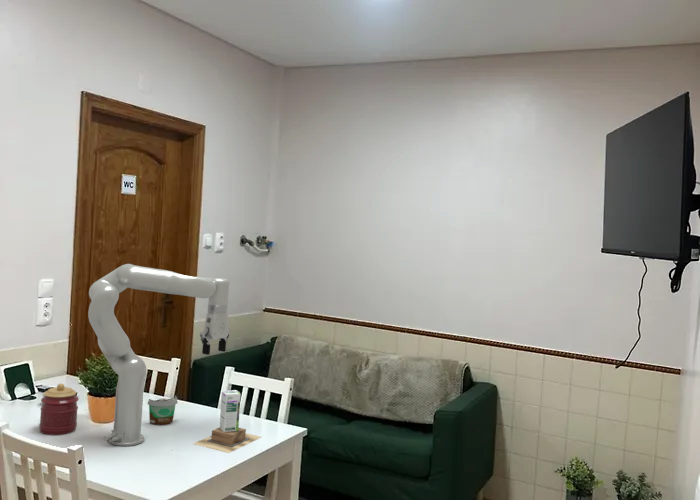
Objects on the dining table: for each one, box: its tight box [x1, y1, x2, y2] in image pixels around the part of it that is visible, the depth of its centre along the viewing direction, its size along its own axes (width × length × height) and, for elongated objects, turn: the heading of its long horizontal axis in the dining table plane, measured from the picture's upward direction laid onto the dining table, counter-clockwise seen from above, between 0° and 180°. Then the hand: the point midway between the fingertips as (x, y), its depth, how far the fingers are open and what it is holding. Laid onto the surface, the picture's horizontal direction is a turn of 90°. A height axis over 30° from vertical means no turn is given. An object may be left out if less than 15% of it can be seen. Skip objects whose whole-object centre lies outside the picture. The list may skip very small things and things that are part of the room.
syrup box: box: [219, 389, 242, 432], centre depth 242 cm, size 6×6×14 cm
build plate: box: [192, 433, 262, 454], centre depth 242 cm, size 22×16×2 cm
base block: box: [211, 426, 247, 446], centre depth 242 cm, size 9×9×4 cm
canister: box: [38, 383, 79, 436], centre depth 242 cm, size 13×13×18 cm
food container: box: [147, 395, 178, 426], centre depth 260 cm, size 12×6×10 cm, turn 131°
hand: (213, 352), depth 253 cm, fingers open, 9 cm apart
